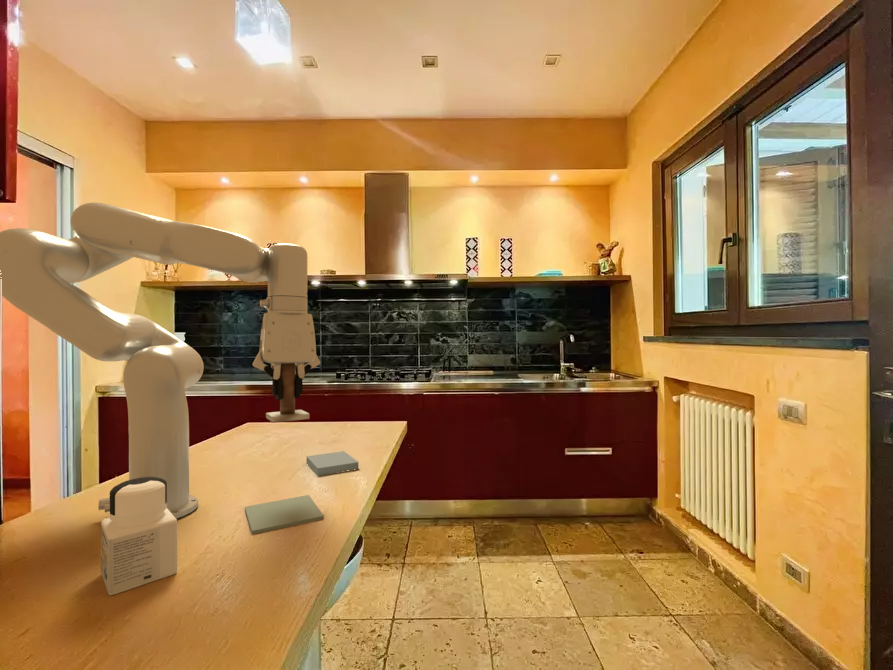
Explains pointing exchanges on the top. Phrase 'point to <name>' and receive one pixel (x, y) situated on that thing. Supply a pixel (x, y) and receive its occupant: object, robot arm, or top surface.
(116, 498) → the container
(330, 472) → the tile
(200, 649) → the top surface
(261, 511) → the mat
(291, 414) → the brown upright post
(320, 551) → the top surface
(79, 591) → the top surface
